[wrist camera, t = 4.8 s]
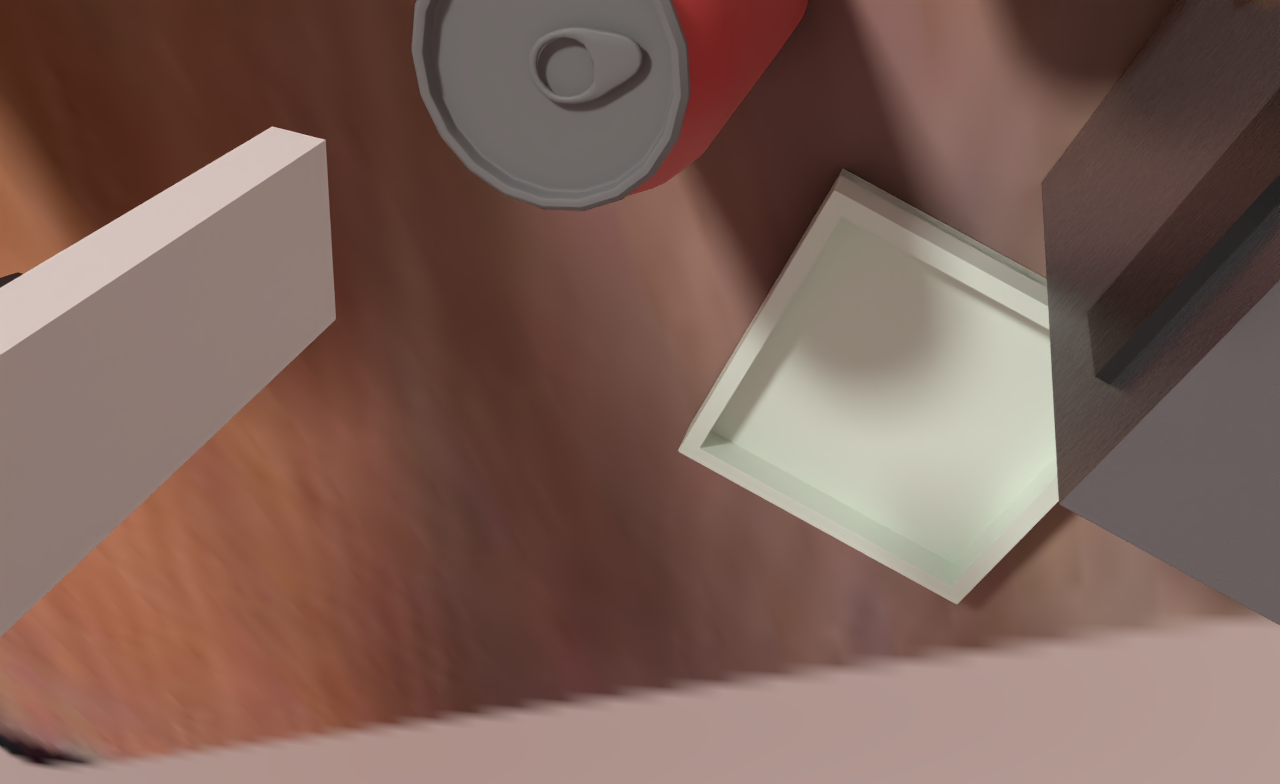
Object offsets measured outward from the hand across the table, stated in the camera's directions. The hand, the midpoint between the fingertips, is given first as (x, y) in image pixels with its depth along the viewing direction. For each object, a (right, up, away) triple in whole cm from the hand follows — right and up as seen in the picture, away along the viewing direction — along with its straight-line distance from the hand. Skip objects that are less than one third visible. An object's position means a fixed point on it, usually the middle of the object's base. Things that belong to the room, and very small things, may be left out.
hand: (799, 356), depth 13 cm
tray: (+7, 0, +21) cm, 22 cm away
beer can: (0, +12, +16) cm, 20 cm away
